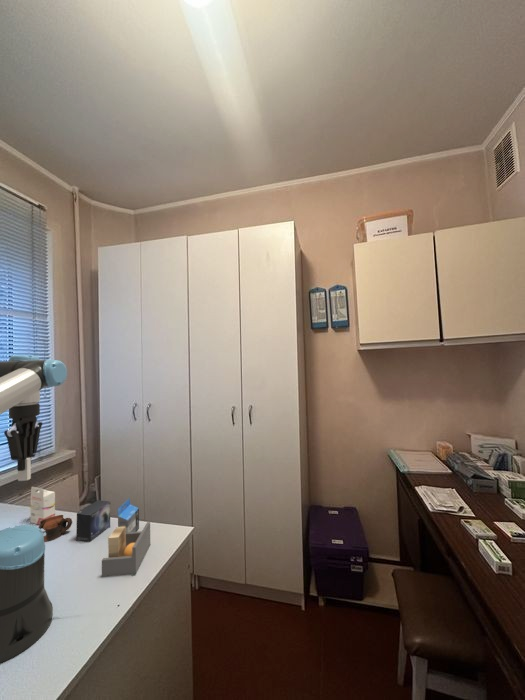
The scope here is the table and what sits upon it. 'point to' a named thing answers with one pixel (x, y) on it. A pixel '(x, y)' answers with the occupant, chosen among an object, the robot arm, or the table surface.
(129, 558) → the pitch
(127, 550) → the ball
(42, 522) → the pottery mug
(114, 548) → the wooden block
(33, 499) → the ink cartridge box
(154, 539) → the table surface
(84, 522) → the small box
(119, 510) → the label tape cartridge
